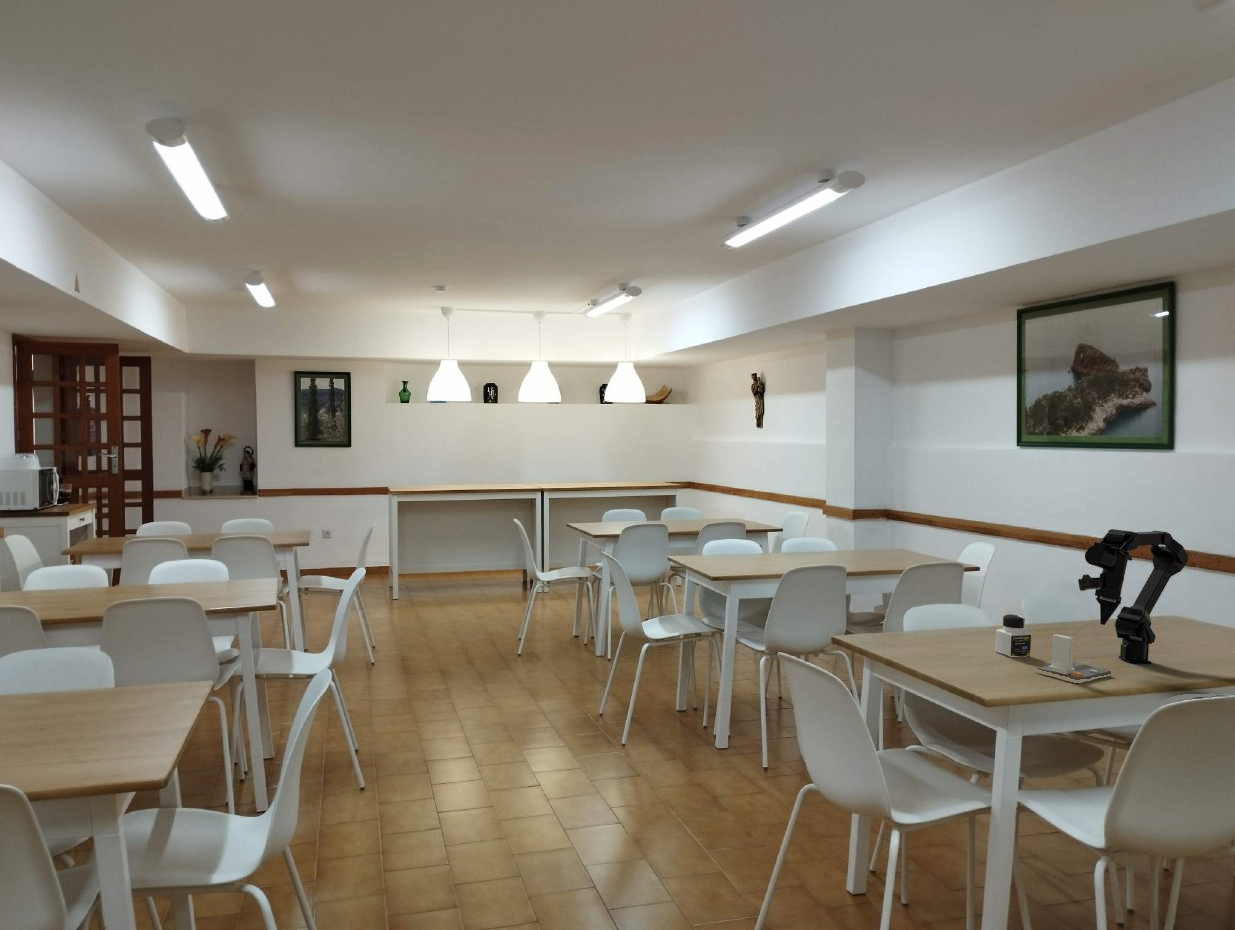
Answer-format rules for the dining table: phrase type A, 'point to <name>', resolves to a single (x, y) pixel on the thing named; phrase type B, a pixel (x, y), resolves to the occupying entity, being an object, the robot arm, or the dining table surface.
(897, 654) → the dining table surface
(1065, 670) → the tab
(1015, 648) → the medicine bottle
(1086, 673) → the switch panel
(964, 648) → the dining table surface
